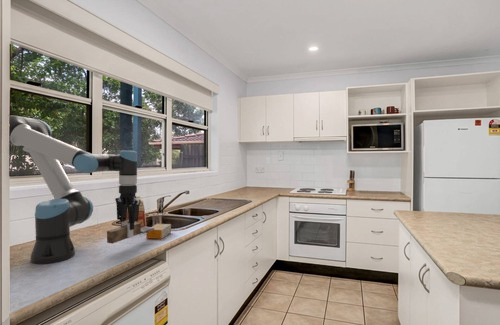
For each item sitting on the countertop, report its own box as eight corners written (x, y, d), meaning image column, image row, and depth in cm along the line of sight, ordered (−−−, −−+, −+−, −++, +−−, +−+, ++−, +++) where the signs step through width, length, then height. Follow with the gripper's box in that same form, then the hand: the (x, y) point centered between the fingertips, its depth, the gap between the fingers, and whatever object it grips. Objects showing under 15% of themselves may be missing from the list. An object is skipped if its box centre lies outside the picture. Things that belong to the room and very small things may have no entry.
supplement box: (161, 239, 146) (171, 232, 159) (161, 230, 146) (171, 223, 159) (145, 238, 147) (157, 232, 160) (145, 229, 147) (157, 223, 160)
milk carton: (137, 232, 160) (136, 196, 160) (123, 231, 163) (123, 195, 163) (147, 228, 169) (147, 194, 168) (134, 227, 172) (134, 193, 171)
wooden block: (114, 244, 123) (114, 232, 122) (104, 242, 125) (104, 230, 125) (154, 229, 143) (153, 219, 143) (144, 228, 146) (144, 218, 146)
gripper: (147, 185, 132) (146, 236, 132) (121, 182, 139) (121, 231, 139) (134, 186, 125) (133, 240, 126) (108, 184, 132) (107, 235, 132)
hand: (127, 236), depth 132 cm, fingers closed on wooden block, 3 cm apart
